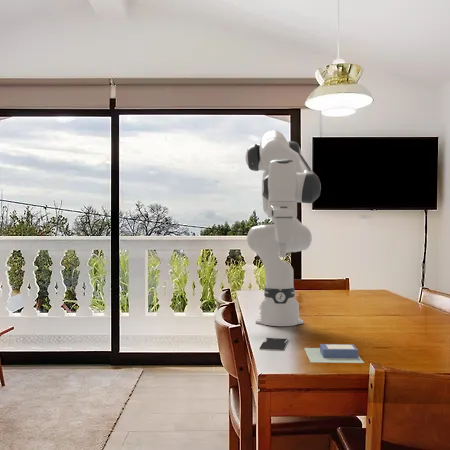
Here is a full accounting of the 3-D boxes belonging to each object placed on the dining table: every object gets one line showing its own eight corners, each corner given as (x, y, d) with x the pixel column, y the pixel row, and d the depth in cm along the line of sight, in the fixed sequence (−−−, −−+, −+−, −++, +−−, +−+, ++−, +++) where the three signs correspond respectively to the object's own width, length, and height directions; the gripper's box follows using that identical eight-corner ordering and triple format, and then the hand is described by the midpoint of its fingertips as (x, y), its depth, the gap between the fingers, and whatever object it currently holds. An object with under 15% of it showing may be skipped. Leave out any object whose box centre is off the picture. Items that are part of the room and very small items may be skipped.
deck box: (320, 343, 149) (353, 344, 149) (320, 351, 149) (353, 352, 149) (323, 349, 143) (358, 349, 142) (323, 357, 143) (358, 358, 142)
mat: (303, 349, 154) (303, 347, 154) (352, 349, 153) (352, 348, 153) (310, 363, 138) (310, 362, 138) (364, 364, 137) (364, 362, 137)
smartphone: (259, 348, 152) (265, 337, 167) (259, 353, 152) (265, 341, 167) (283, 350, 150) (288, 338, 165) (283, 354, 150) (288, 342, 165)
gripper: (270, 212, 161) (270, 254, 161) (273, 210, 140) (273, 259, 140) (289, 212, 161) (289, 254, 161) (296, 210, 140) (296, 259, 140)
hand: (282, 257), depth 150 cm, fingers closed
